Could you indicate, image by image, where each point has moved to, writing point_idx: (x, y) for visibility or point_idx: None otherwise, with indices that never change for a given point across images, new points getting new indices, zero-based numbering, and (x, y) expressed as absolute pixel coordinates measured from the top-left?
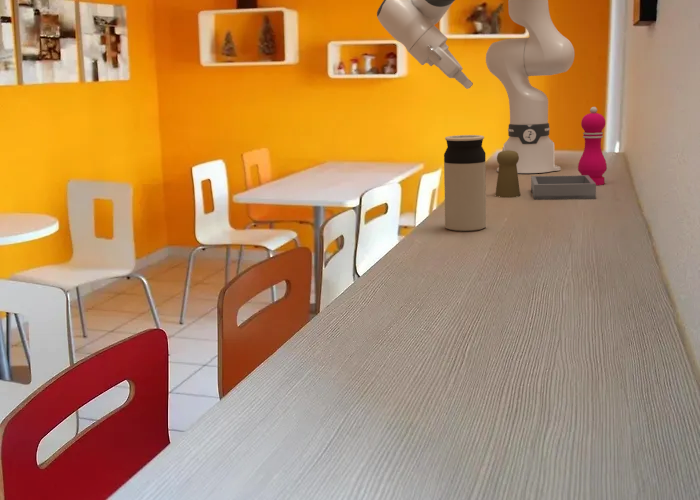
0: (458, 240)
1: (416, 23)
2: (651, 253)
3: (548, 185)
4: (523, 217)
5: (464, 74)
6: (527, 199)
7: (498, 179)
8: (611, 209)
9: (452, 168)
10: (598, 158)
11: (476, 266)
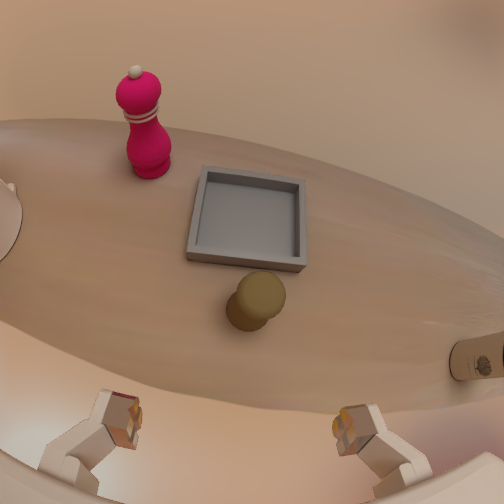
0: None
1: None
2: (493, 233)
3: (306, 243)
4: (421, 302)
5: (71, 451)
6: (294, 282)
7: (260, 323)
8: (372, 199)
9: None
10: (165, 132)
11: None
